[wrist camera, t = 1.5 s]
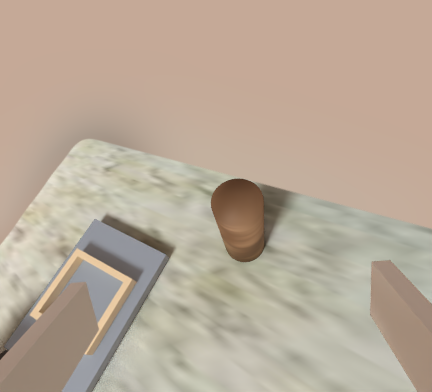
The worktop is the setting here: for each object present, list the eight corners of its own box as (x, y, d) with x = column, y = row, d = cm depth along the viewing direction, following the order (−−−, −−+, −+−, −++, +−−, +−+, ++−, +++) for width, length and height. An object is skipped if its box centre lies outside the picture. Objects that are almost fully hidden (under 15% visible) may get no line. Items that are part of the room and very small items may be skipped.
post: (270, 233, 40) (272, 189, 29) (254, 268, 38) (249, 234, 28) (235, 219, 42) (225, 172, 31) (218, 251, 40) (201, 213, 29)
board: (169, 258, 40) (162, 251, 38) (84, 403, 34) (69, 406, 31) (100, 222, 44) (89, 214, 42) (12, 347, 38) (-7, 346, 35)
